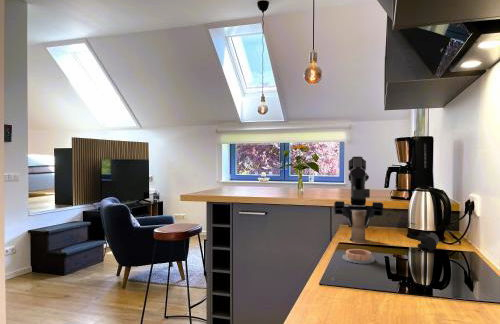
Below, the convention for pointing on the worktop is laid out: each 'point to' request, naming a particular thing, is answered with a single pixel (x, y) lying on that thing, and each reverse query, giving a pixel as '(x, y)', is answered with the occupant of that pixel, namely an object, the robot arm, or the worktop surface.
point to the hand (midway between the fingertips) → (358, 225)
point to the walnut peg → (358, 226)
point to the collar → (358, 256)
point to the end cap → (427, 241)
